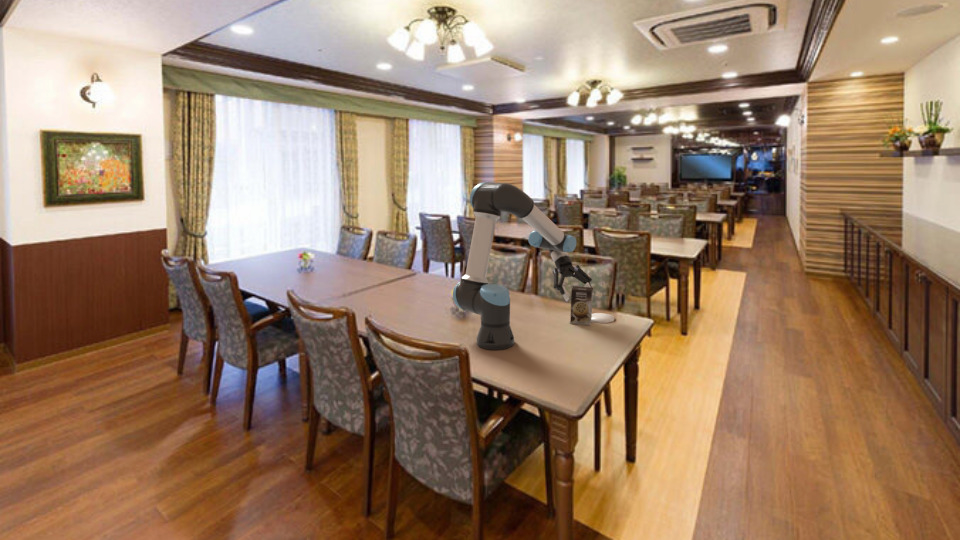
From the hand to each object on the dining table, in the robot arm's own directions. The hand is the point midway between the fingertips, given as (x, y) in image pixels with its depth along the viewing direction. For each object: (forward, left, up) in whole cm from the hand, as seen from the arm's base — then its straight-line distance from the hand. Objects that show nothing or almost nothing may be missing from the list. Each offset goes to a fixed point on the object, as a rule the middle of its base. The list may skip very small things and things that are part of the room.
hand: (580, 298), depth 222 cm
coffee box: (-2, -3, -11) cm, 11 cm away
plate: (+10, -3, -11) cm, 15 cm away
